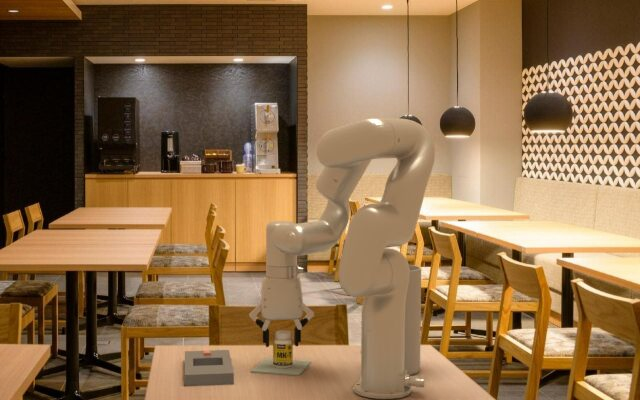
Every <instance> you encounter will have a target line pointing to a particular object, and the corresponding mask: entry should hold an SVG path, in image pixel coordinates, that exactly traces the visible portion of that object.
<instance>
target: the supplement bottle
mask: <svg viewBox="0 0 640 400" xmlns="http://www.w3.org/2000/svg"><path fill="white" fill-rule="evenodd" d="M293 342H294V341H293V340H292V331H290V330H283V329H282V330H276V331H275V332H274V340H273V342H272V344H273V345H272V352H273V353H272V359H273V366H274V367H276V368H289V367H291V366H292V364H293V360H294V359H293V357H294V355H293V354H294V353H293V351H294V350H293V349H294V348H293V345H294V343H293Z"/></svg>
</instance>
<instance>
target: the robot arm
mask: <svg viewBox="0 0 640 400" xmlns="http://www.w3.org/2000/svg"><path fill="white" fill-rule="evenodd" d="M435 149H436V148H435V144H434V140H433V138H432V136H431V134H430V133H429V131H428V130H427V129H426V128H425V127H424V126H423V125H422V124H420V123H419V122H416V121H414V120H411V119H407V118H398V117H397V118H395V117H392V118H390V117H370V118H364V119H363V120H362V119H361V120H359V121H354V122H351V123H349V124H345V125H342V126H338V127H335V128H332V129H329V130H328V131H326V132H325V133H323V135H321V137H320V138H319V139H318V142H317V144H316V150H315V151H316V157H317V159H318V161H319V163H320V164H321V165H322V166H323V169H322V170H321V171H320V174H319V176H318V177H317V179H316V181H315V187H316V190H317V192H318V193H319V194H320V195H321V196H322V197H323V198H324V199H325V200H327V202H326V203H327V204H326V206H325V208H324V211H323V213H322V214H321V216H320V217H319V219H318V220H317V221H307V222H305V221H304V222H299V223H295V222H293V221H288V220H278V221H277V220H275V221H271V222H269V223H267V225H266V229H265V230H266V232H265V233H266V234H265V236H266V237H265V239H266V241H265V245H266V247H265V249H266V250H265V252H266V254H265V258H266V259H265V261H266V265H265V267H266V268H265V269H266V271H265V272H266V273H265V276H264V277H263V278H262V281H261V288H260V289H261V290H260V303H259V304H258V305H257V306H256V307H255V308H253V310H251V311H250V312H249V315H248V316H249V318H250V319H251V320H252V321H253V322H254V323H255V324H256V325H257V326H258V327H259V328H260V329H261V330H262V344H265V347H266V348H269V347H270V328H269V325H270V324H271V321H277V320H278V321H281V320H293V322H294V324H295V327H294V329H293V330H294V331H293V335H294V336H293V340H294V341H293V342H294V343H293V345H294V346H295V347H299V343H301V341H302V338H301V337H302V336H301V335H302V330H303V328H304V327H305V326H306V325H307V324H308V323H309V321H310V320H311V319H312V318H313V317H314V316H315V312H314V311H313V310H311V309H310V307H308V306H307V305H306V304H305V303H304V302H303V290H302V281H301V277H300V276H298V275H299V274H303V273H304V267H301V266H299V265H298V257H299V256H307V255H313V254H317V253H318V254H319V253H326V252H328V251H329V250H331V249H332V248H333V247H334V246H335V245H336V244H337V242H338V241H339V240H340V239H341V237H342V235H343V233H344V231H345V230H346V228H347V226H348V229H347V230H346V231H347V232H346V236H345V240H344V245H343V247H342V248H343V249H342V252H341V256H340V260H339V266H338V274H337V275H338V280H339V281H338V282H339V284H340V287H341V290H343V291H344V293H345V294H346V295H348V296H350V297H352V298H363V303H362V307H361V322H360V323H361V327H360V328H361V333H360V334H361V335H360V336H361V337H360V341H361V343H360V344H361V345H360V346H361V348H360V354H361V355H360V359H361V360H360V380H359V381H356V383H355V384H354V385H353V391H354V393H356V394H357V395H358V396H362V397H364V398H367V399H368V398H370V399H376V400H394V399H401V398H404V397H407V396H409V395H410V394H411V393H412V387H416V388H425V378H424V377H423V378H421V376H417V375H407V369H404V345H405V304H406V294H407V288H408V283H409V277H410V269H409V265H410V263H409V262H408V259H407V258H406V257H405V255H404V254H403V253H402V252H401V251H399V250H397V249H394V247H398V246H399V247H400V246H404V245H405V244H408V243H409V242H410V241H411V240H412V238H413V237H414V234H415V231H416V228H417V224H418V220H419V217H420V214H421V213H420V212H421V209H422V206H423V201H424V198H425V193H426V190H427V186H428V183H429V180H430V177H431V175H432V172H433V167H434V164H435V158H436V153H435V152H436V151H435ZM378 159H380V160H381V159H396V161H397V162H396V164H395V166H394V167H393V168H392V170H391V171H390V172H389V175H388V177H387V179H386V182H385V186H384V190H383V191H384V192H383V194H382V198H381V200H380V201H379V202H378V203H371V204H366V205H364V206H362V207H360V208H359V209H358V210H357V211H355V213H354V215H353V216H352V218H350V208H351V207H350V198H351V196H352V194H353V193H354V191H355V189H356V187H357V186H358V184H359V182H360V181H361V179H362V177H363V175H364V174H365V172H366V170H367V169H368V167H369V165H370V163H371V162H372V160H378ZM350 219H351V220H350ZM349 220H350V222H349ZM348 223H349V224H348ZM259 313H260V315H261V318H263V321H262V320H261V319H260V318H259V317H258V314H259ZM304 313H306V315H305V316H304V315H303V314H304ZM303 316H304V317H303ZM302 317H303V318H302ZM301 318H302V319H301ZM300 319H301V320H300Z"/></svg>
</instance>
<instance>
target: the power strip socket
mask: <svg viewBox="0 0 640 400" xmlns="http://www.w3.org/2000/svg"><path fill="white" fill-rule="evenodd" d="M231 359H232V358H231V353H230V349H218V350H217V349H215V350H213V349H211V350H209V349H208V350H187V351H186V350H185V351H184V387H189V386H191V387H192V386H209V385H210V386H212V385H213V386H216V385H234V383H235V382H234V381H235V380H234V379H235V376H234V375H235V374H234V368H233V363H232V360H231Z"/></svg>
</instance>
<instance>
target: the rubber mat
mask: <svg viewBox="0 0 640 400" xmlns="http://www.w3.org/2000/svg"><path fill="white" fill-rule="evenodd" d="M310 365H312V361H311V360H310V361H309V360H296V359H295V360H294V359H293V364H292V366H291V367H289V368H276V367H274V366H273V358H264V359H263V360H262V361H260V362H259V363H258V364H256V365H255V366H254V367H253V368H252V369H251V370H250V373H254V374H268V375H270V374H271V375H282V376H283V375H284V376H296V377H297V376H298V377H299V376H301V375H302V374H303V373H304V371H306V369H308V367H309V366H310Z"/></svg>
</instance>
